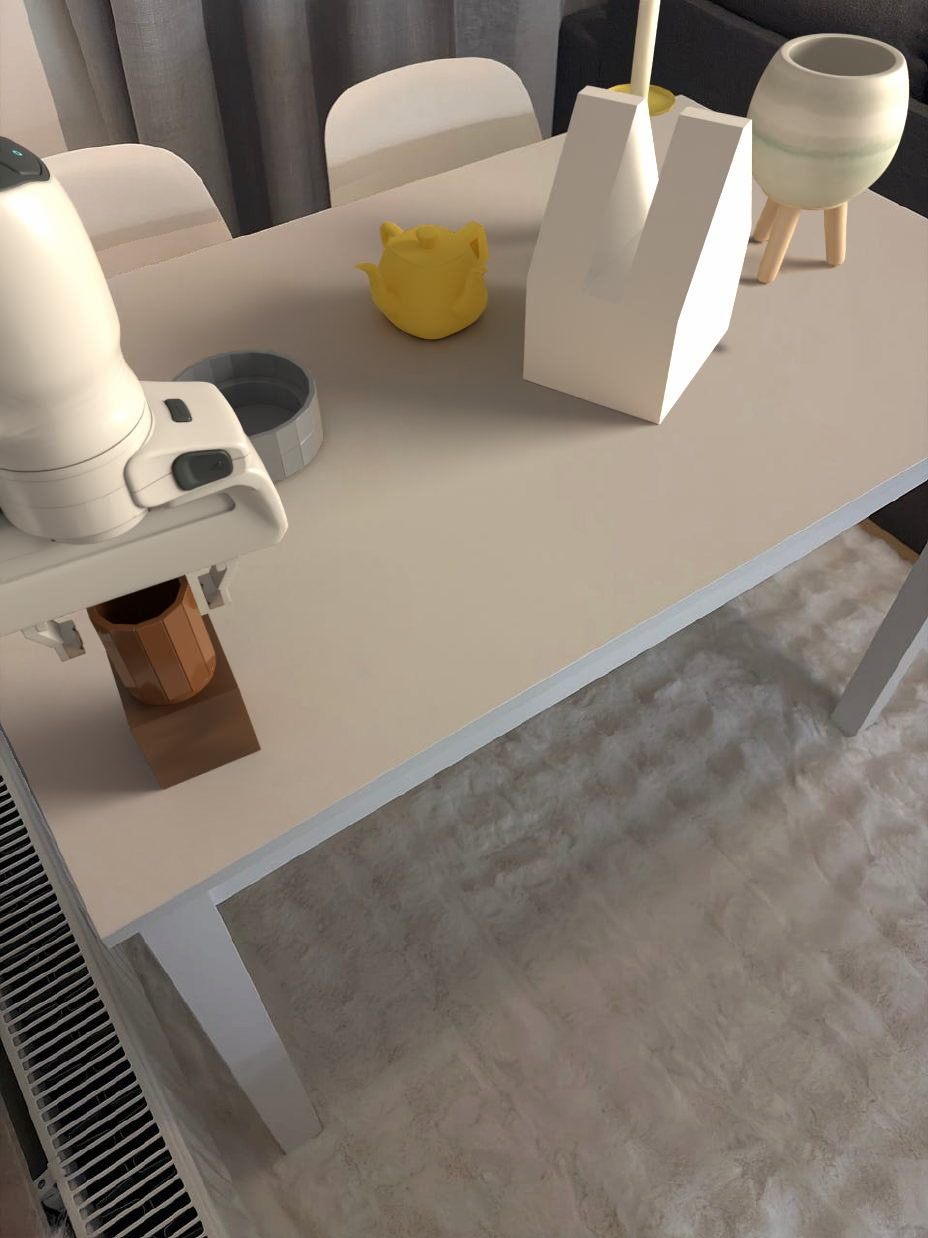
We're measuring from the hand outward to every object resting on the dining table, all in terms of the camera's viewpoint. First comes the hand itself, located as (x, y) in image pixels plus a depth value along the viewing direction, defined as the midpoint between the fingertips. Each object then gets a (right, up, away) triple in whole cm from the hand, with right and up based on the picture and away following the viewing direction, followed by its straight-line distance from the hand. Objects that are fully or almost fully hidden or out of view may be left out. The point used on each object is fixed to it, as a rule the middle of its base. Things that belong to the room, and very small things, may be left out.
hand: (146, 624), depth 59 cm
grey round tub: (-1, +18, +31) cm, 36 cm away
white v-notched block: (+38, +29, +40) cm, 62 cm away
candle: (+41, +50, +57) cm, 86 cm away
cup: (0, -3, +4) cm, 5 cm away
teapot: (+17, +34, +45) cm, 59 cm away
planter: (+59, +43, +51) cm, 90 cm away
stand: (0, -8, +10) cm, 13 cm away
